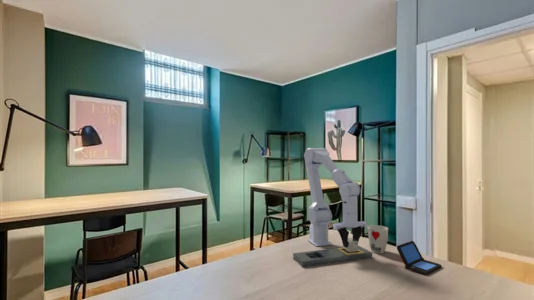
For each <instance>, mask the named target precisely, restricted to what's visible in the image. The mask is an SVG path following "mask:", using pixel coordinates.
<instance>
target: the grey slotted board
mask: <svg viewBox="0 0 534 300" xmlns="http://www.w3.org/2000/svg"><path fill="white" fill-rule="evenodd" d="M292 258H293V260H294V261H296V263H297V264H298V265H299V266H301V267H302V268H306V267H313V266H315V267H316V266H320V265H321V266H322V265H329V263H330V264H335V263H336V262H337V263H342V262H343V263H344V261H345V262H350V261H351V262H352V261H359V260H366V259H372V258H373V252H372V251H369V250H368V249H366V248H364V247H363V246H360V245H358V252H356V253H347V252H345V251H343V247H336V248H327V249H318V250H310V251H302V252H301V251H300V252H293V253H292Z"/></svg>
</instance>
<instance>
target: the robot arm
mask: <svg viewBox="0 0 534 300" xmlns="http://www.w3.org/2000/svg"><path fill="white" fill-rule="evenodd" d="M303 157H304V162H305V163H304V164H305V167H306V169H305V170H306V172H307V173H306V174H307V180H308V185H309V186H308V187H309V190H310V195H311V196H310V197H311V201H312V202H311V205H310V206H309V207H308V220H309V222H310V225H309V229H308V230H309V238H308V239H307V241H308V242H310V243H311V244H313V245H314V246H315V247H323V246H325V247H326V246H331V245H333V243H332V242H330V241H329V225H330V222H331V221H332V220H333V214H332V210H331V209H330V206H329V204H328V203H326V202H325V200H324V194H323V189H322V183H321V178H320V173H319V168H320V167H321V166H322V165H323V166H324V168H326V170H327V171H328V172H329V173H330V174H331V175H330V176H331V179H332V180H333V182H334V183H335V184H336V185H337V186H338V188H339V190H338V192H339V194H340V196H341V197H340V199H341V201H342V221H341V222H338V223H333V224H332V229H333V230H335V231H337V232H338V234H339V236H340V239H341V241H342V242H341V243H342V247H343V246H344V247H348V238H349V234H350V231H349V230H347V229H351V233H352V238H353V239H355V240H357V241H358V243H359V241H360V238H361V236H362V234H363V233H364V228H368V223H367V221H364V220H363V221H358V197H359V195H360V193H361V186H360V184H359V183H358V182H356V181H353V180H352V179H351V178H350V177H349V176H348V175H347V174H346V171H345V170H343V169H341V168H338V167H337V165H336V164H335V162H334V161H333V159H332V158H331V157H330V152H329V151H328V149H327V148H325V147H308V148H306V149H305V152H304V154H303Z"/></svg>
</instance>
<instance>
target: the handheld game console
mask: <svg viewBox="0 0 534 300" xmlns="http://www.w3.org/2000/svg"><path fill="white" fill-rule="evenodd" d="M396 250H397V252H398V254H399V256H400V258H401V260H402V262H403V264H404V269H405V270H408V271H411V272H414V273H417V274H419V275H423V276H428V275H430V274H432V273H435V272H436V271H438V270H440V269H441V268H442V264H440V263H438V262H437V263H436V262H433V261H430V260H427V259H425V258H424V257H423V255H422V253H421V251H419V250H420V249H419V248H418V246H417V244H416V242H415V241H414V240H411V241H408V242H405V243H401V244H399V245H396Z"/></svg>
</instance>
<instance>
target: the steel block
mask: <svg viewBox="0 0 534 300" xmlns="http://www.w3.org/2000/svg"><path fill="white" fill-rule="evenodd" d="M358 246H359V242H358V241H357V240H355V239H353V237H351V238H349V237H348V247H344V246H343V245H342V248H343V251H345V252H347V253H356V252H358Z"/></svg>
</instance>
